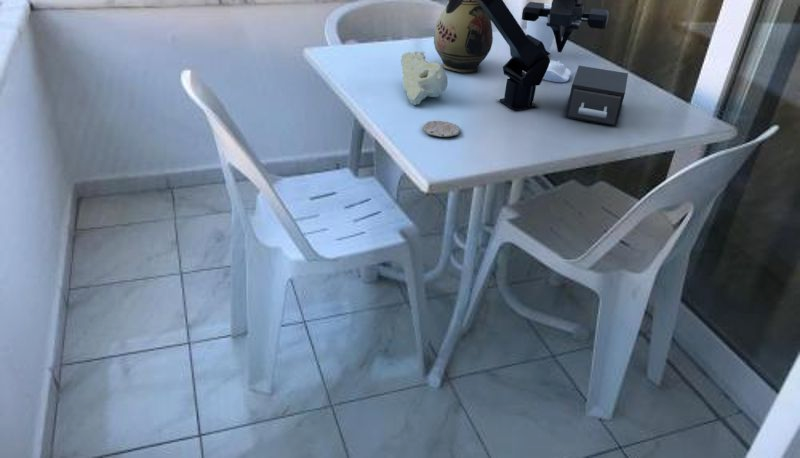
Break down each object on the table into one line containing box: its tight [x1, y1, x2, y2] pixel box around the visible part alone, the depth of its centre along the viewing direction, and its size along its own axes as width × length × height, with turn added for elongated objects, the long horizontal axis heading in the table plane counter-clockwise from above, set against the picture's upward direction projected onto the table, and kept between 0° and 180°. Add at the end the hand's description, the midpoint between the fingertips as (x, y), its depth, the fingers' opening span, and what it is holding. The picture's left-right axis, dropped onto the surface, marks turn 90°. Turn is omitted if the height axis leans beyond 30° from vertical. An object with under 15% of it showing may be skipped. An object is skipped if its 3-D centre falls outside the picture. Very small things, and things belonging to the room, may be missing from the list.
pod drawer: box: [568, 89, 621, 124], centre depth 148 cm, size 17×10×6 cm, turn 161°
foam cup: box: [526, 3, 555, 53], centre depth 182 cm, size 10×9×13 cm
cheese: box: [400, 50, 449, 106], centre depth 154 cm, size 15×7×15 cm
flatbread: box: [422, 120, 460, 138], centre depth 139 cm, size 8×8×1 cm
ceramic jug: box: [433, 0, 494, 74], centre depth 165 cm, size 17×15×30 cm
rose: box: [542, 60, 572, 83], centre depth 170 cm, size 10×4×10 cm
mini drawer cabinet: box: [564, 65, 629, 127], centre depth 151 cm, size 14×12×8 cm
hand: (559, 51), depth 151 cm, fingers closed
